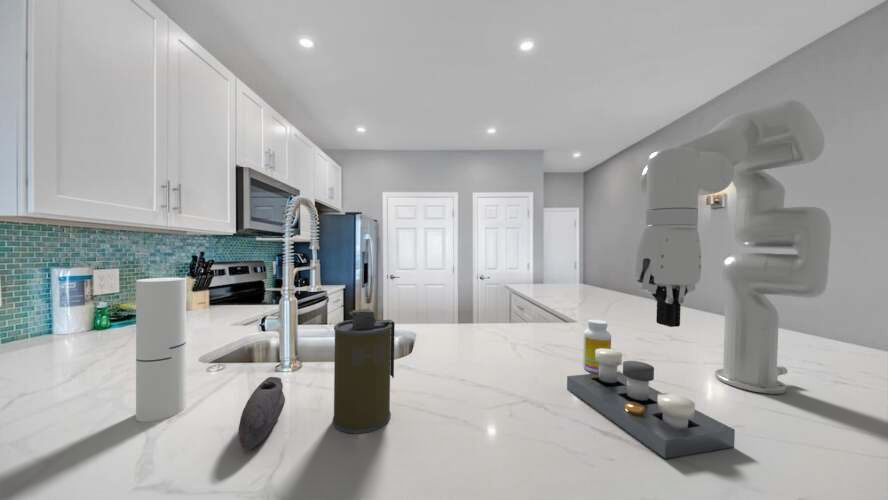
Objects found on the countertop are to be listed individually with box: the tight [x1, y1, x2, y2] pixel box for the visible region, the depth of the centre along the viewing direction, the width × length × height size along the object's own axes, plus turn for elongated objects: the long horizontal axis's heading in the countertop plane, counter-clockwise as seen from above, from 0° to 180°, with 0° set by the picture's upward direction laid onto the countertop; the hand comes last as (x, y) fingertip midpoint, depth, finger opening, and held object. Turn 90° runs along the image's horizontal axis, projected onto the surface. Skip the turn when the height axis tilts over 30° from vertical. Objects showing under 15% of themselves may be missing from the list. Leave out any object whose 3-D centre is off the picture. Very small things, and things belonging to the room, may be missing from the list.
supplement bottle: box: [582, 318, 612, 374], centre depth 87 cm, size 7×7×13 cm
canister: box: [332, 308, 396, 434], centre depth 61 cm, size 11×10×20 cm
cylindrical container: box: [135, 277, 187, 423], centre depth 62 cm, size 7×7×25 cm
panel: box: [566, 371, 736, 461], centre depth 64 cm, size 25×14×4 cm, turn 14°
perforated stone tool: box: [238, 376, 286, 450], centre depth 56 cm, size 15×5×7 cm, turn 10°
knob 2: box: [657, 392, 696, 430], centre depth 56 cm, size 5×5×6 cm
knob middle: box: [622, 360, 655, 400], centre depth 64 cm, size 5×5×6 cm
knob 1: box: [595, 348, 623, 383], centre depth 72 cm, size 5×5×6 cm
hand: (667, 324), depth 58 cm, fingers closed
